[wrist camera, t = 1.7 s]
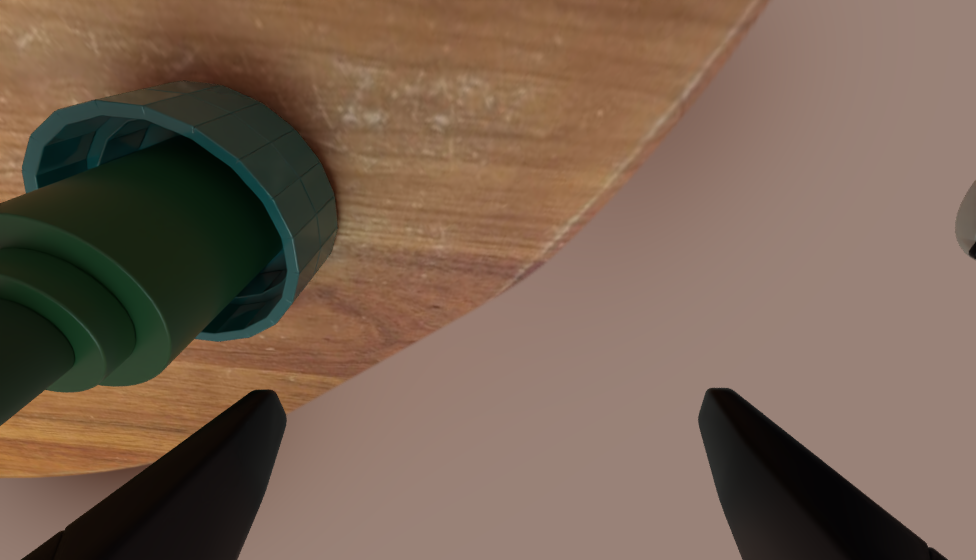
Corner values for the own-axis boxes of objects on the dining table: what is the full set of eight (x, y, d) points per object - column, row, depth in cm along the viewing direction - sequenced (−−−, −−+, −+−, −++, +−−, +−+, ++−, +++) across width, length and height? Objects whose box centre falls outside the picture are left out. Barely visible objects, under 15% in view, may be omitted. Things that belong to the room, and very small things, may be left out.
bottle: (287, 138, 19) (-43, 324, 8) (306, 263, 22) (97, 514, 11) (141, 121, 19) (-390, 283, 8) (183, 249, 22) (-144, 485, 11)
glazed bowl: (331, 93, 18) (273, 120, 14) (349, 291, 24) (312, 353, 20) (91, 66, 18) (-37, 84, 14) (166, 270, 24) (90, 327, 20)
